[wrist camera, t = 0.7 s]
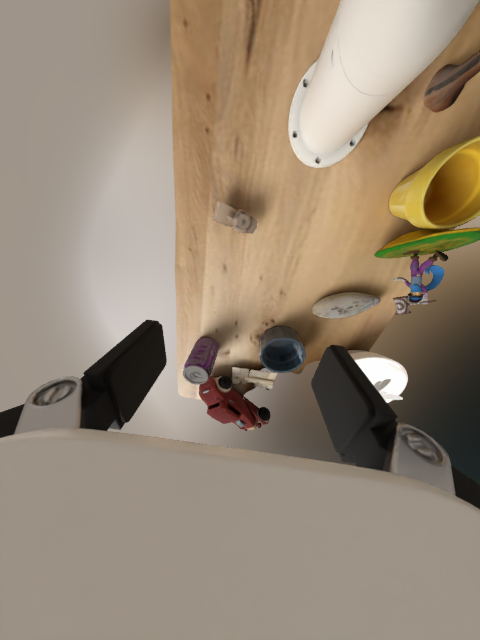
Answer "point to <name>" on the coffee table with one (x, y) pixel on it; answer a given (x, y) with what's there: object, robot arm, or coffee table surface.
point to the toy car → (231, 404)
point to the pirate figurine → (421, 245)
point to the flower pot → (442, 189)
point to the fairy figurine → (386, 396)
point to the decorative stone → (344, 305)
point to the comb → (253, 377)
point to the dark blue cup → (281, 349)
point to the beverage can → (201, 361)
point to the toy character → (234, 218)
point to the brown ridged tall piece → (450, 83)
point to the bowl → (381, 370)
